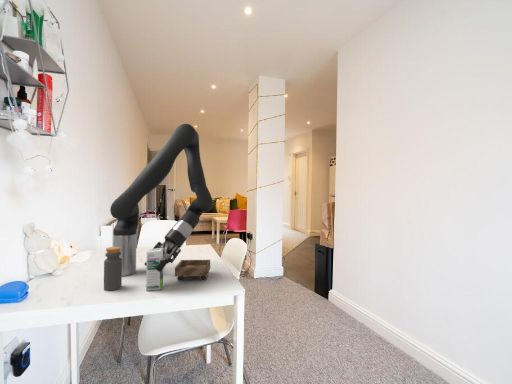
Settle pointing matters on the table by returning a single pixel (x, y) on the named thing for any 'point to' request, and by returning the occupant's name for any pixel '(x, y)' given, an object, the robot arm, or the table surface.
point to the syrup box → (154, 269)
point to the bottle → (112, 269)
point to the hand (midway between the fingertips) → (151, 268)
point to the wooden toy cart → (192, 269)
